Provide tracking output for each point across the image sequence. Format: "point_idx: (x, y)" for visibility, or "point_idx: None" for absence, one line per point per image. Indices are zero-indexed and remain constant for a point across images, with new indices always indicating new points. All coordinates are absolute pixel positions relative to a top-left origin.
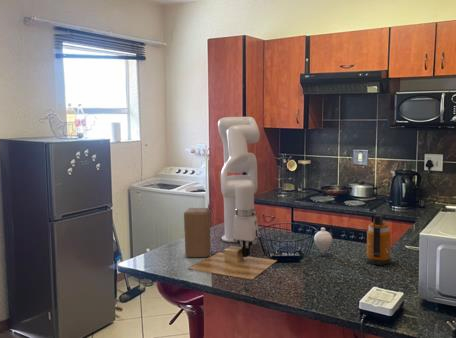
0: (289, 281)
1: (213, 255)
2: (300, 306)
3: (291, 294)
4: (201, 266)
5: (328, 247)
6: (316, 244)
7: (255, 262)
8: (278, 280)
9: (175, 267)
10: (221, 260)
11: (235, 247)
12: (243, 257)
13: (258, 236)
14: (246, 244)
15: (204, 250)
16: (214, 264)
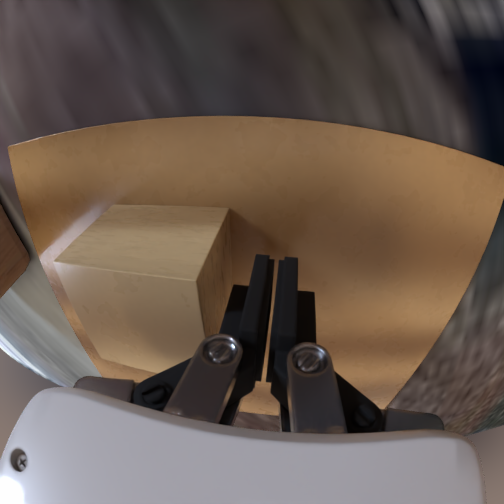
0: (493, 380)
1: (26, 218)
2: (469, 433)
3: (470, 419)
4: (115, 364)
5: None
6: None
7: (367, 262)
8: (465, 388)
9: (65, 363)
10: None
11: (121, 303)
12: (227, 219)
13: (474, 471)
14: (290, 427)
15: (6, 289)
16: None
